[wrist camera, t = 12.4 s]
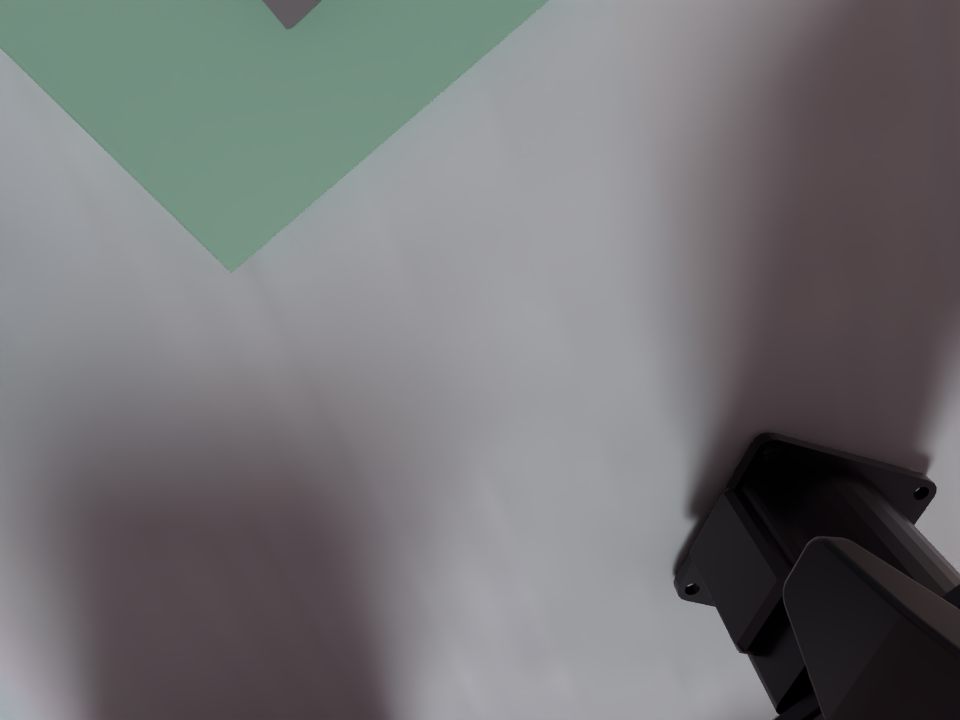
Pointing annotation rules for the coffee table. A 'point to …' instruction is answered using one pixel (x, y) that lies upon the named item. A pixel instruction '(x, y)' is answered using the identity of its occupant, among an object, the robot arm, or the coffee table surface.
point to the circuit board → (247, 92)
